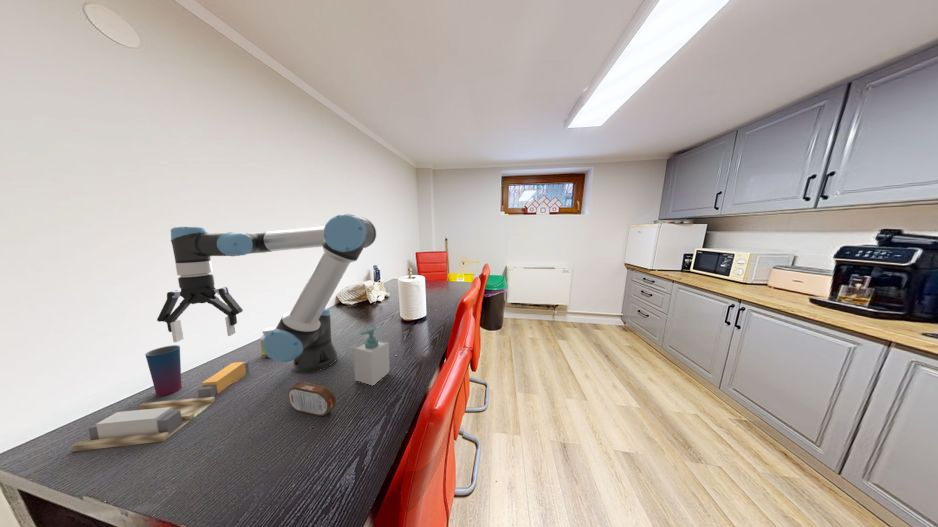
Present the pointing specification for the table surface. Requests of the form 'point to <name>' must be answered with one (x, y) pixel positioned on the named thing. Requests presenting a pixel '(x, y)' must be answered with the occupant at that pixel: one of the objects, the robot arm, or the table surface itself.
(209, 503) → the table surface
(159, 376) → the cup
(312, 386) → the tin
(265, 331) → the pill bottle
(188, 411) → the comb board
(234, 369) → the grey-capped orange block
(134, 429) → the grey-capped white block
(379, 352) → the soap bottle
